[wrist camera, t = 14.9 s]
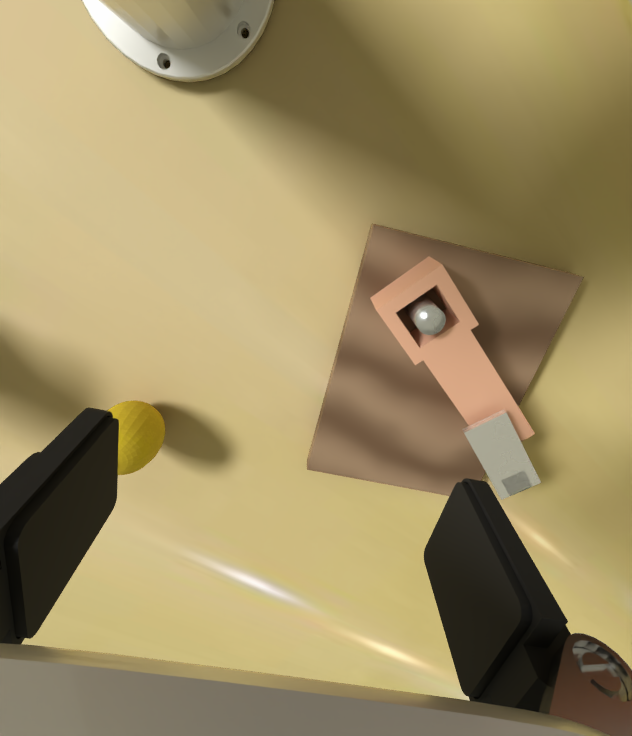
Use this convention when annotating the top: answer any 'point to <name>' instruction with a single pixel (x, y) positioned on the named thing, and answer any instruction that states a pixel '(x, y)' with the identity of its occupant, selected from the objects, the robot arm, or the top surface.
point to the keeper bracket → (502, 454)
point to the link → (449, 346)
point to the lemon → (137, 434)
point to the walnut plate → (416, 382)
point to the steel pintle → (426, 315)
